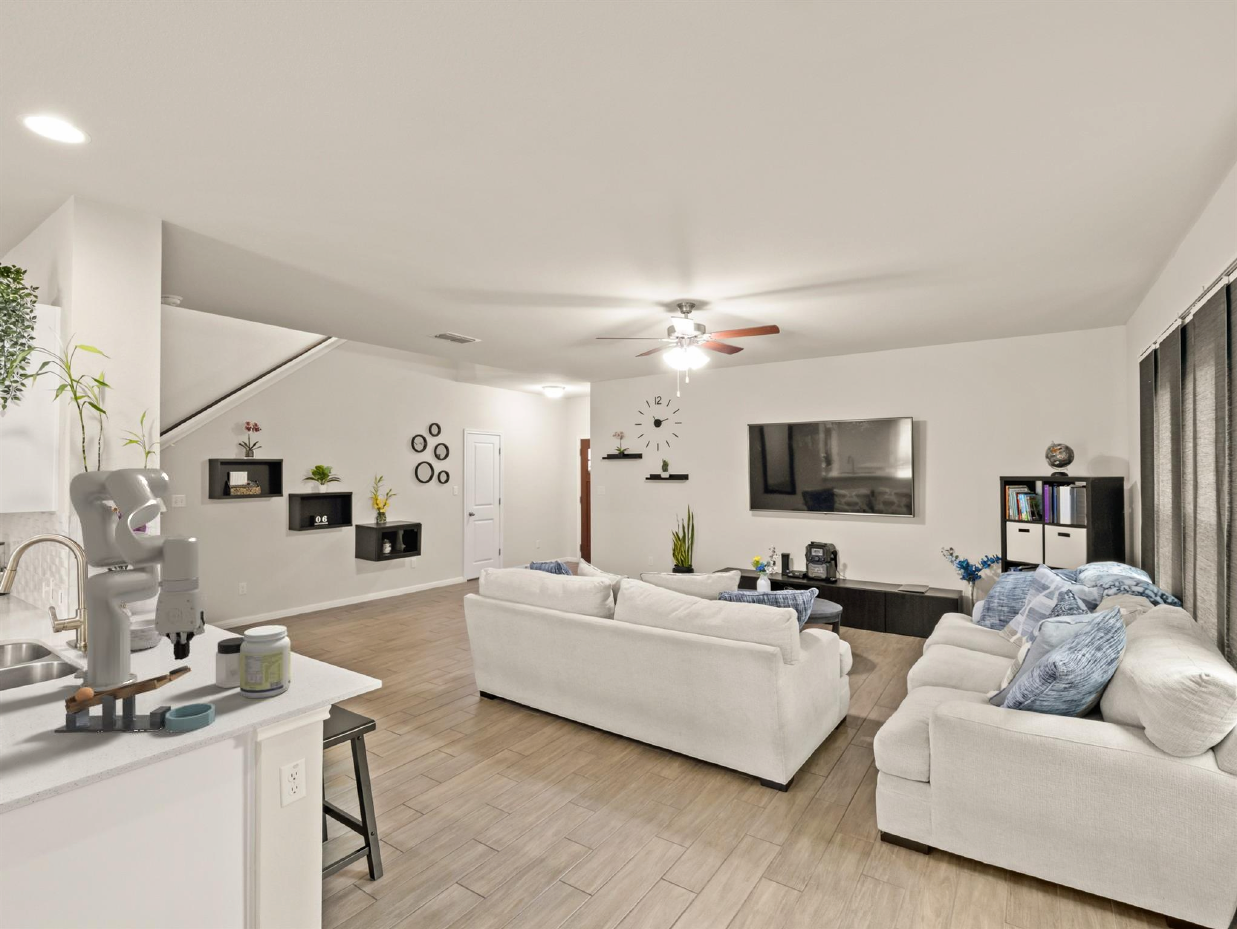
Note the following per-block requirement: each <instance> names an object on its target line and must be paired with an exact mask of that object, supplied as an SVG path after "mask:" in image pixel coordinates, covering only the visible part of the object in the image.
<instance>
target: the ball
mask: <svg viewBox="0 0 1237 929" xmlns="http://www.w3.org/2000/svg"><path fill="white" fill-rule="evenodd" d="M94 694H95V692H94V691H93V690H92V689H91V688H89V687H84V688H81V689H80V688H79V689H78V690H77V691H76V692H75V694H74V695H75V699H76V701H81V700H85V699H88V698H92V697H93V695H94Z"/></svg>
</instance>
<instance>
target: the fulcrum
mask: <svg viewBox="0 0 1237 929" xmlns="http://www.w3.org/2000/svg"><path fill="white" fill-rule="evenodd" d="M121 700H122V701H121V702H122V708H121V709H122V710H121V712H122V714H117V700H116V695H105V696H102V704H101V713H102V714H101V715H99V714H98V715H90V707H89V708H85V709H82V710H78V711H74V712H71V713H67V712H66V713H65V724H64V725H61V726H60V727H58V728H56V729H54V734H55V733H56V734H57V733H58V734H64V733H71V734H72V733H112V732H111V731H133V732H135V731H134V730H138V731H137V732H141V731H140V730H144V731H143V732H148V731H147V730H159V729H160V728H162V727H163V728H165V727H166V726H165V725H166V713H167V712H169V711H171V710H172V706H171V705H160V706H158V707H156V708H155V709H154V710H151V711H150V712H149V714H136V695H133V696H130V697H126V698H122V699H121ZM164 726H165V727H164ZM163 728H162V729H163ZM160 730H161V729H160ZM160 730H159V731H160ZM98 731H99V732H98ZM101 731H103V732H101ZM108 731H110V732H108Z"/></svg>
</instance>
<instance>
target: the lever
mask: <svg viewBox="0 0 1237 929" xmlns="http://www.w3.org/2000/svg"><path fill="white" fill-rule="evenodd" d="M190 672H192V669H191V667H190V666H188V665H183V666H179V667H177V668H174V669H172V670H170V671H169V672H168V673H167V674H162V675H159V676H155V677H151V678H149V679H148V678H147V679H145V680H141V681H136V682H134V683H132V684H129V685H125V686H122V687H118V688H114V689H111V690H107V691H100V692H95V693H94V695H93V697H92V698H88V699H85V700H81V701H76V699H75V694H74V695H72V696H70V697H68V698H66V699H64V703H65V705H64V707H65V711H66V714H67V713H71V712H74V711H78V710H82V709H85V708H89V709H90V708H93V707H96V706H101V705H102V696H105V695H116V701H118V700H122V698H126V697H130V696H133V695H135V696H136V695H141V694H144V693H147V692H151V691H155V690H157V689H160V688H162V687H164V686H166V685H167V684H170V683H171V682H173V681H176V680H177V679H179V678H180V677H182V676H185V675H186V674H188V673H190Z"/></svg>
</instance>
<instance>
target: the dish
mask: <svg viewBox="0 0 1237 929" xmlns="http://www.w3.org/2000/svg"><path fill="white" fill-rule="evenodd" d="M214 722H216V707H215V704H212V703H209V702H197V703H196V702H195V703H192V704H186V705H185V704H184V705H181V706H178V707H175V708H171V711H169V712H167V713H166V726H165V731H167V730H168V732H170V731H172V732H171V733H185V732H190V731H196V730H199V729H203V728H205V727H208V726H209V725H211V724H213V723H214Z"/></svg>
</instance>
